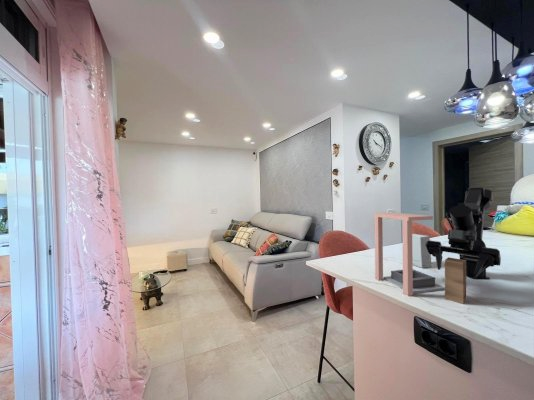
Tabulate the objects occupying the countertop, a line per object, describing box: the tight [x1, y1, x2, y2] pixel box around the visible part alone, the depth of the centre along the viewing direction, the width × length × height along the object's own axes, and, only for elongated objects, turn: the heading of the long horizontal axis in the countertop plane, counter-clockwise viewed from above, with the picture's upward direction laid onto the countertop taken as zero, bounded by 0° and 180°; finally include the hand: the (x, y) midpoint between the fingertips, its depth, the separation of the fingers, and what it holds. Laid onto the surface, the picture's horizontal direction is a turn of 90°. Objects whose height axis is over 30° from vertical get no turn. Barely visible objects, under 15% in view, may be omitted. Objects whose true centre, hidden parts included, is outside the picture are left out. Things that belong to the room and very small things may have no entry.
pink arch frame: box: [373, 212, 434, 297], centre depth 82 cm, size 10×17×27 cm, turn 12°
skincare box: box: [412, 233, 432, 269], centre depth 104 cm, size 8×6×15 cm
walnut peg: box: [444, 257, 467, 305], centre depth 70 cm, size 4×4×13 cm
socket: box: [383, 268, 445, 295], centre depth 83 cm, size 14×14×4 cm
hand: (455, 272), depth 70 cm, fingers open, 9 cm apart
